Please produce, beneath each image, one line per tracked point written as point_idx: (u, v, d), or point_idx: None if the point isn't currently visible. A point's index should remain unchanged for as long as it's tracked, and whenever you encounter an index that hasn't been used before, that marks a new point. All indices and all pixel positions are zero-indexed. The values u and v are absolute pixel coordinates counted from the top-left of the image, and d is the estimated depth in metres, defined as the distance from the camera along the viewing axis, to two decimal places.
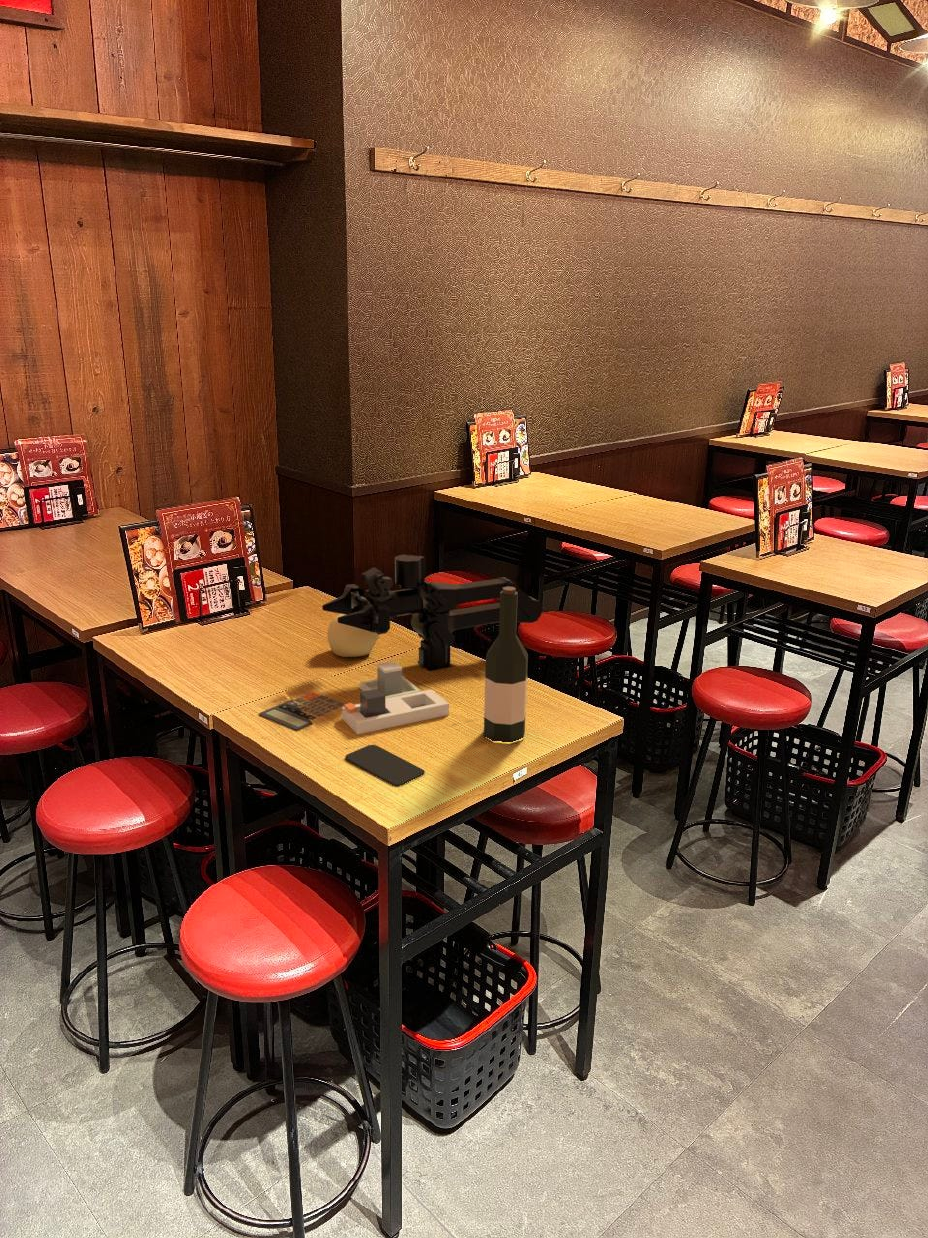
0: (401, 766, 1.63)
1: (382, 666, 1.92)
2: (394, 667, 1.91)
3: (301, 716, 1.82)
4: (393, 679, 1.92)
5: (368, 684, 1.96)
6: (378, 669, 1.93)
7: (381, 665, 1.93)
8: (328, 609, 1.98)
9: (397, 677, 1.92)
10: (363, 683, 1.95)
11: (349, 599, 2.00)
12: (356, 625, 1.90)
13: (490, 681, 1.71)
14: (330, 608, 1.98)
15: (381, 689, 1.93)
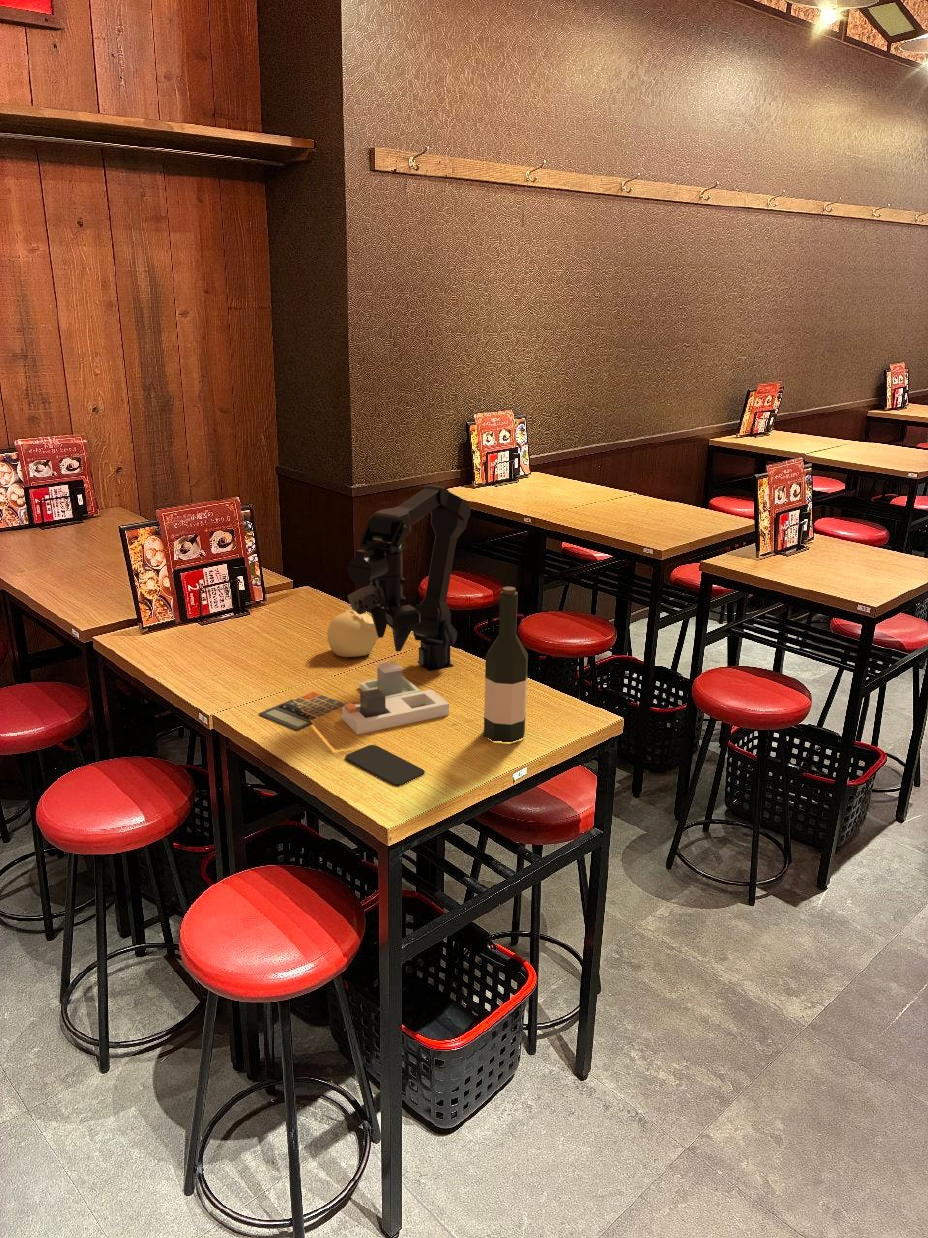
0: (401, 765, 1.63)
1: (382, 666, 1.92)
2: (394, 667, 1.91)
3: (301, 716, 1.82)
4: (393, 679, 1.92)
5: (368, 684, 1.96)
6: (378, 669, 1.93)
7: (381, 665, 1.93)
8: (383, 631, 1.94)
9: (397, 677, 1.92)
10: (363, 683, 1.95)
11: (375, 608, 1.93)
12: (406, 635, 1.85)
13: (490, 681, 1.71)
14: (382, 629, 1.94)
15: (381, 689, 1.93)
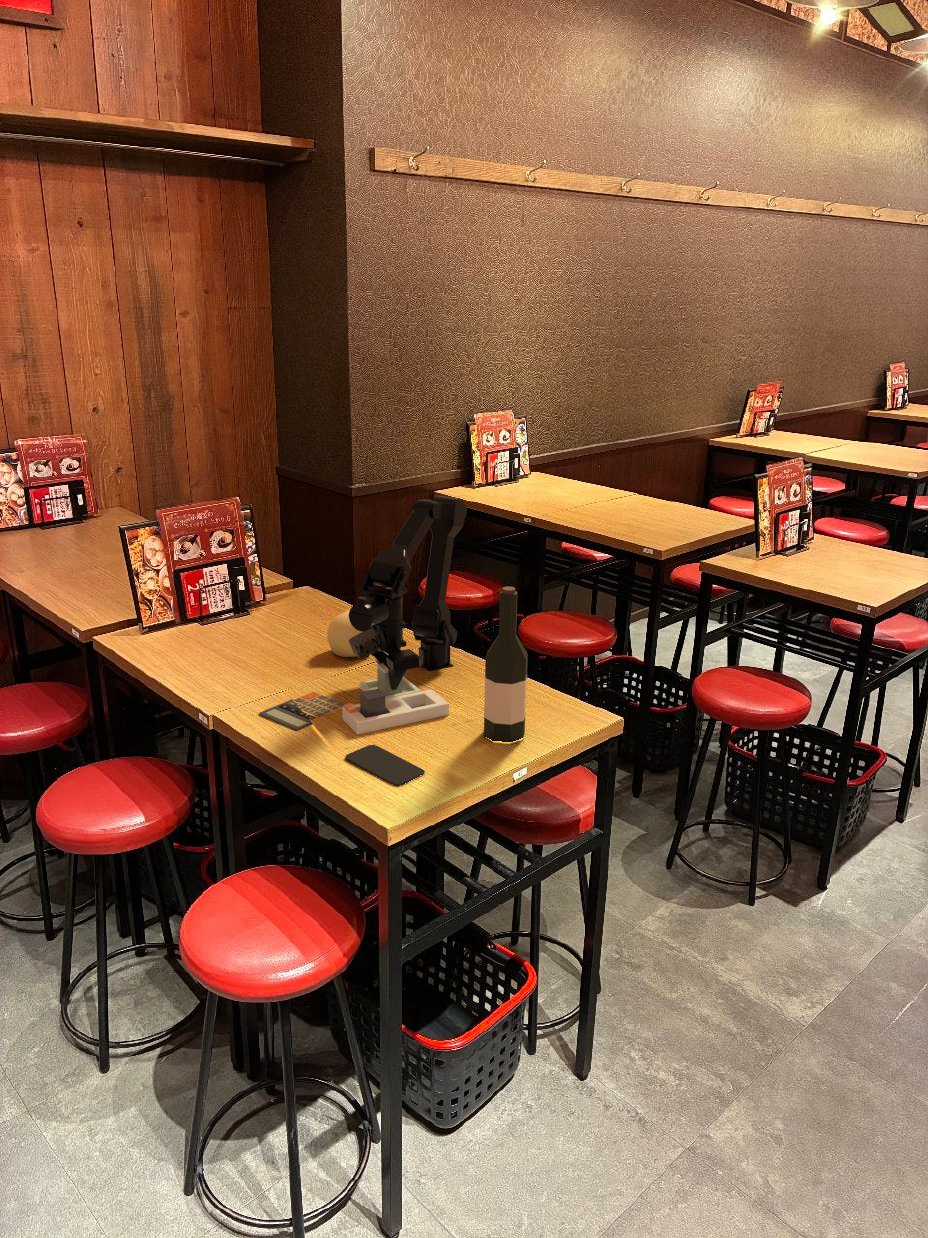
0: (401, 766, 1.63)
1: (382, 666, 1.92)
2: None
3: (301, 716, 1.82)
4: None
5: (368, 684, 1.96)
6: (378, 669, 1.93)
7: (381, 665, 1.93)
8: None
9: None
10: (363, 683, 1.95)
11: (380, 654, 1.94)
12: (402, 674, 1.91)
13: (490, 681, 1.71)
14: None
15: (381, 689, 1.93)
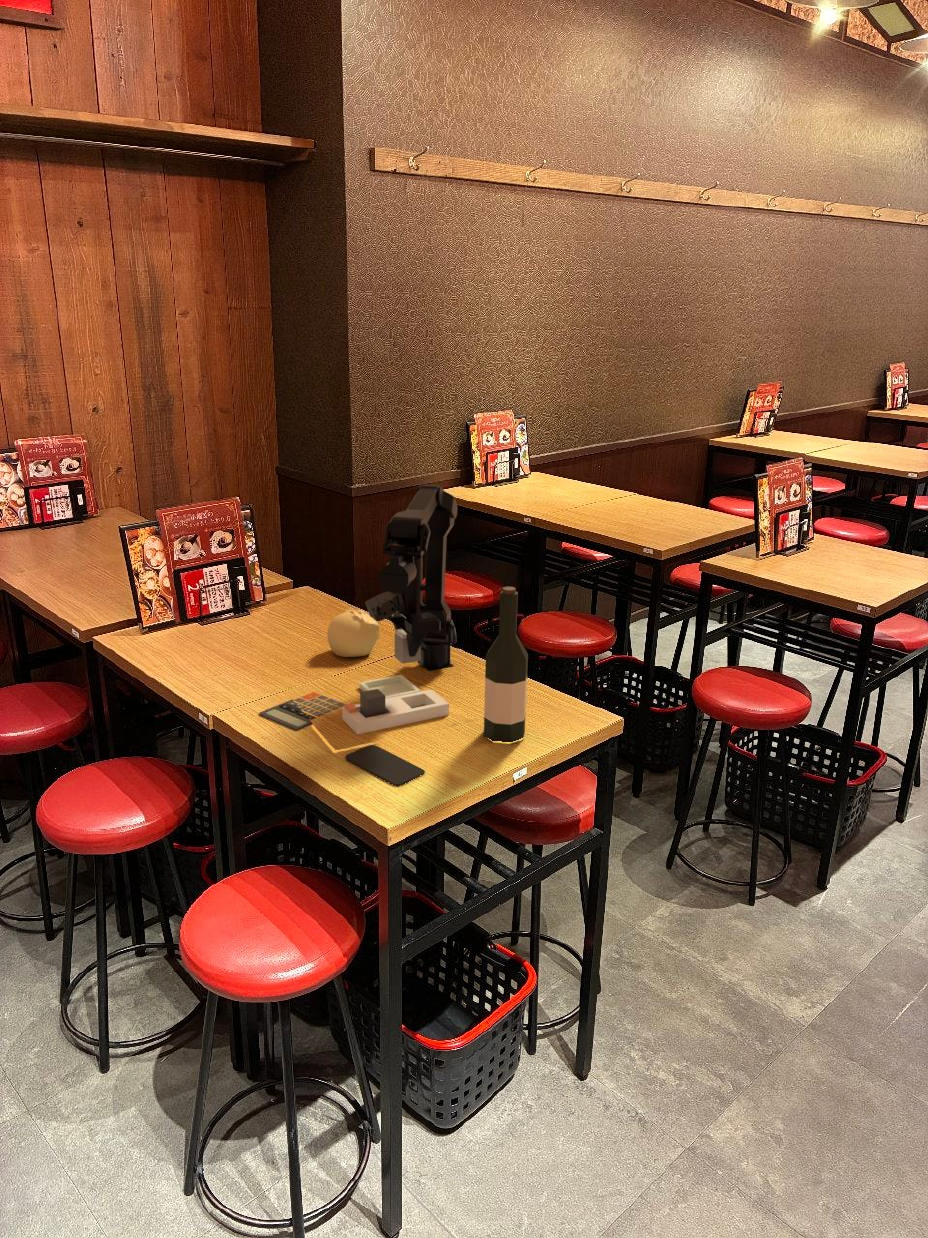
0: (401, 765, 1.63)
1: (400, 631, 1.82)
2: None
3: (300, 716, 1.82)
4: None
5: (368, 684, 1.96)
6: (395, 635, 1.83)
7: (399, 630, 1.82)
8: None
9: None
10: (363, 683, 1.95)
11: (398, 619, 1.83)
12: (421, 640, 1.80)
13: (490, 681, 1.71)
14: None
15: (398, 656, 1.83)
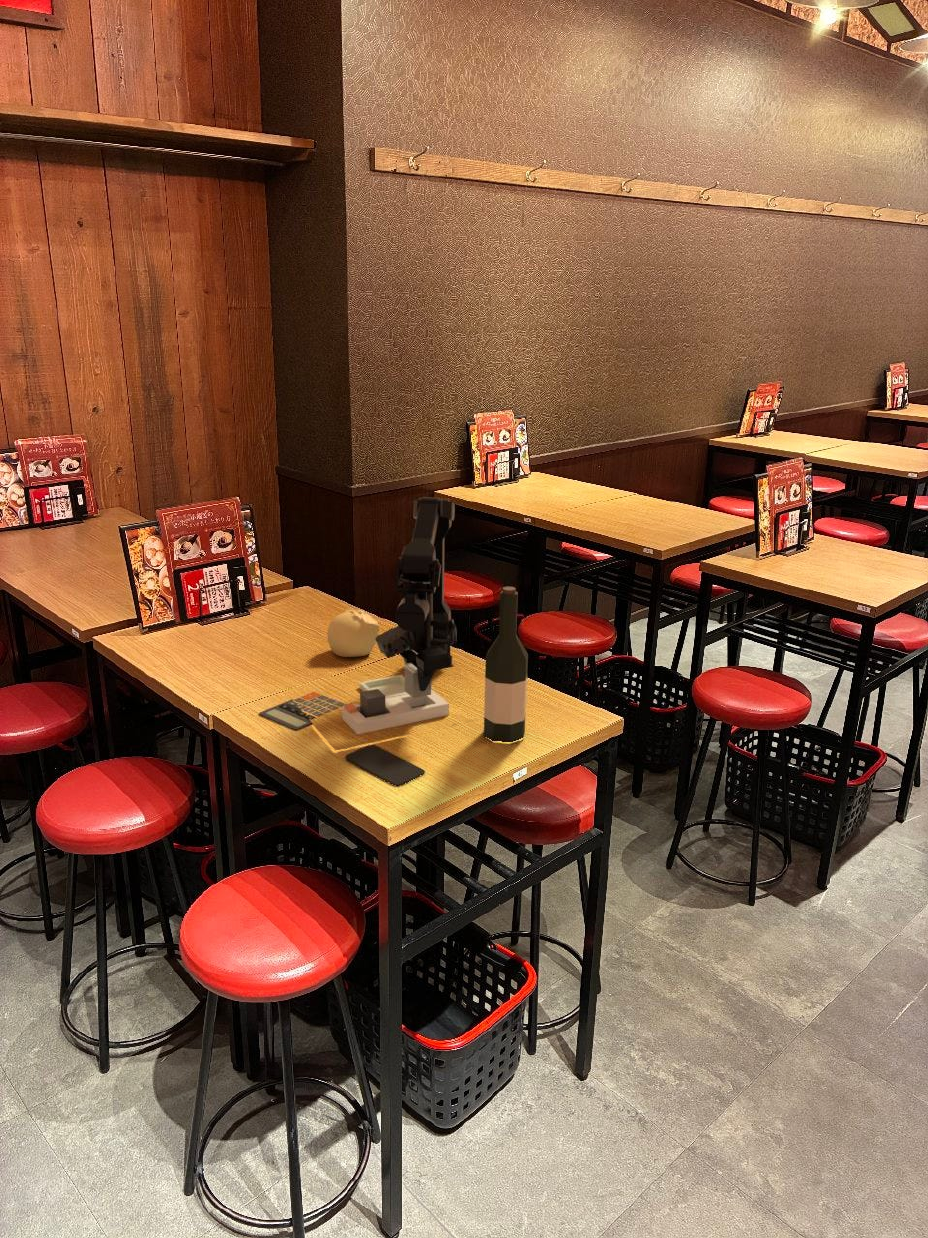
0: (401, 765, 1.63)
1: (410, 666, 1.81)
2: None
3: (300, 716, 1.82)
4: None
5: (368, 684, 1.96)
6: (405, 669, 1.82)
7: (409, 665, 1.82)
8: None
9: None
10: (363, 683, 1.95)
11: (408, 653, 1.83)
12: (431, 675, 1.80)
13: (490, 681, 1.71)
14: None
15: (409, 690, 1.82)
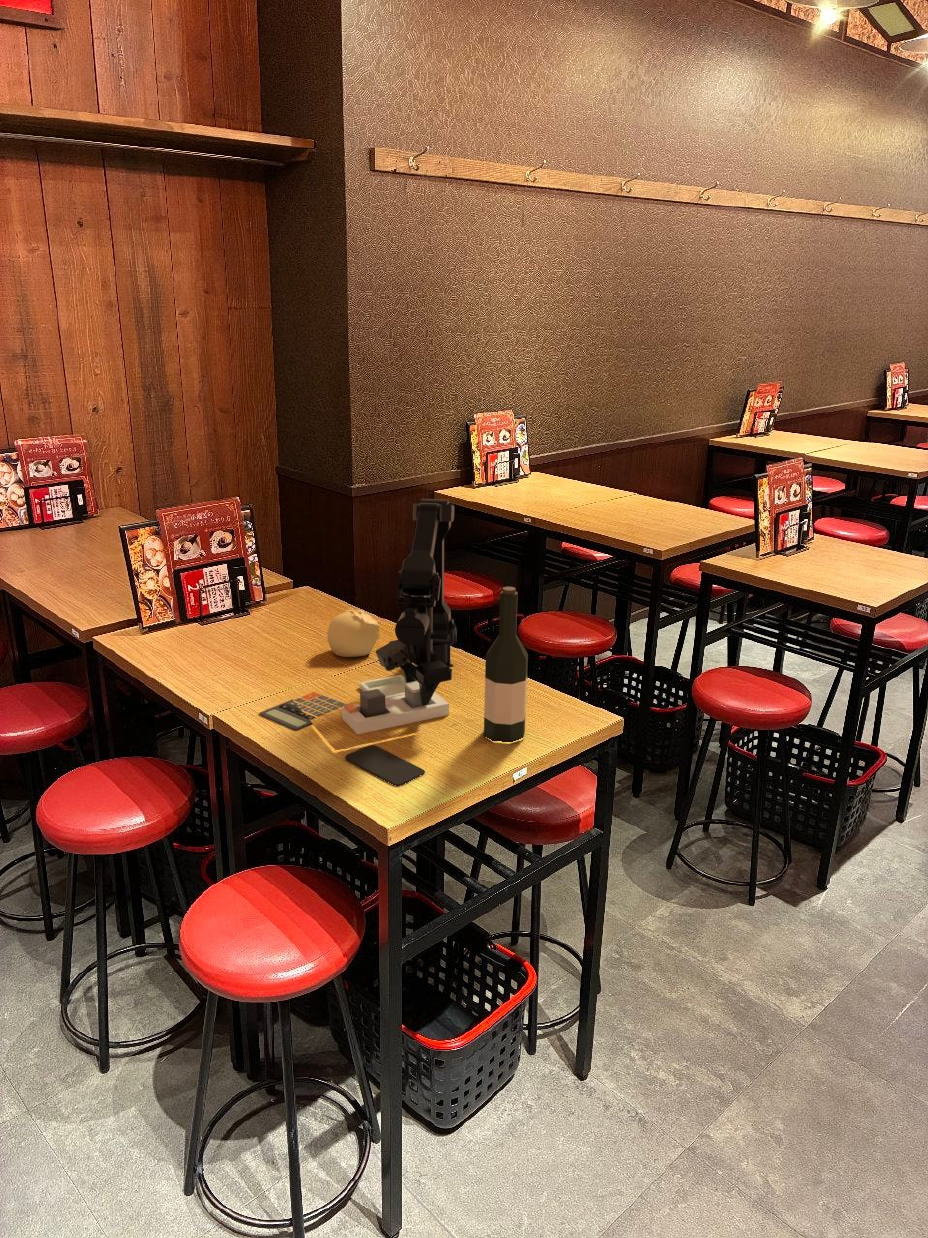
0: (401, 765, 1.63)
1: (410, 685, 1.83)
2: None
3: (300, 716, 1.82)
4: None
5: (368, 684, 1.96)
6: (406, 688, 1.84)
7: (409, 684, 1.83)
8: None
9: None
10: (363, 683, 1.95)
11: (406, 664, 1.84)
12: (433, 689, 1.80)
13: (490, 681, 1.71)
14: None
15: None
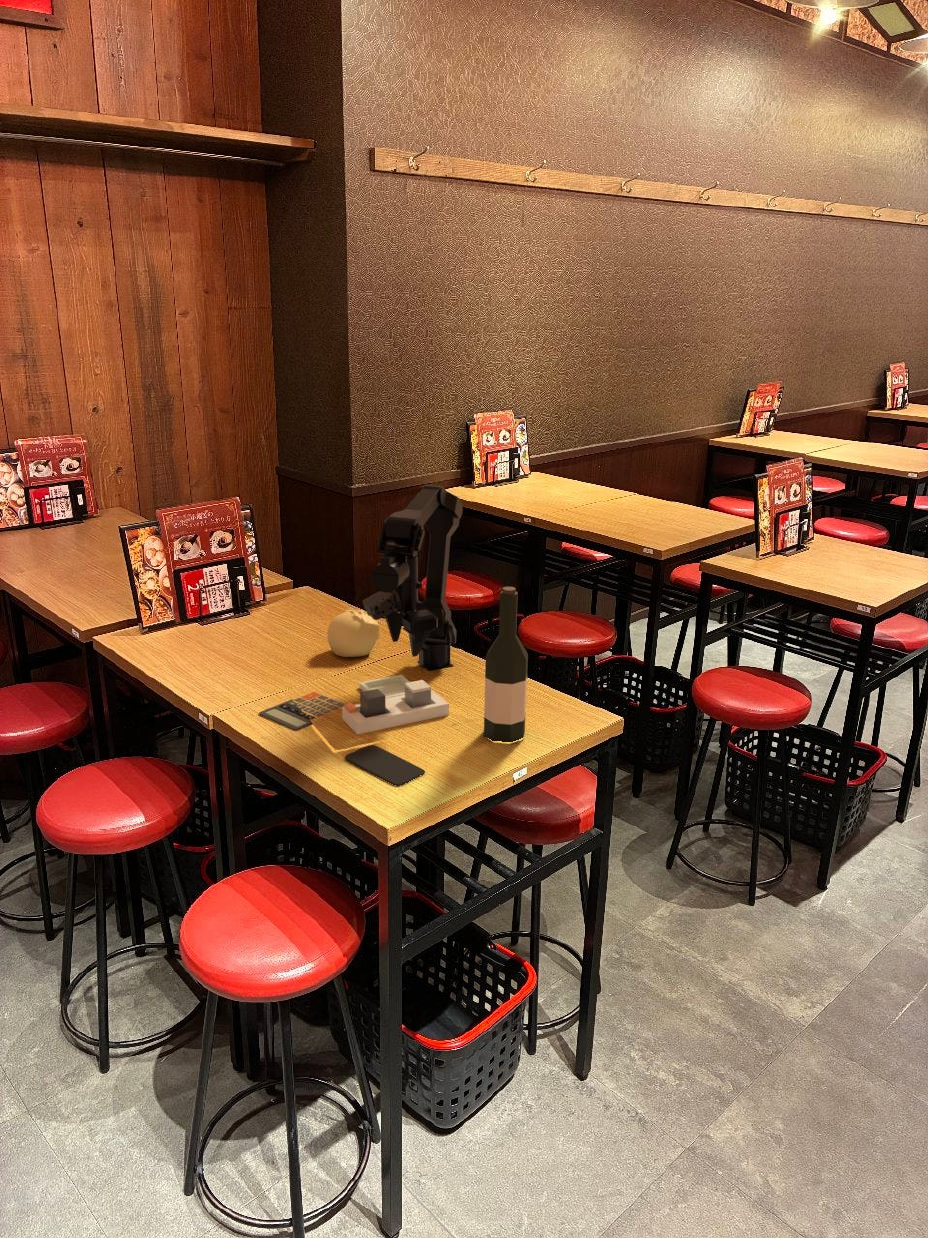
0: (401, 765, 1.63)
1: (410, 685, 1.83)
2: (423, 687, 1.82)
3: (300, 716, 1.82)
4: (421, 699, 1.82)
5: (368, 684, 1.96)
6: (406, 688, 1.84)
7: (409, 684, 1.83)
8: (397, 635, 1.92)
9: (425, 696, 1.82)
10: (363, 683, 1.95)
11: (390, 612, 1.90)
12: (423, 640, 1.83)
13: (490, 681, 1.71)
14: (396, 633, 1.91)
15: None
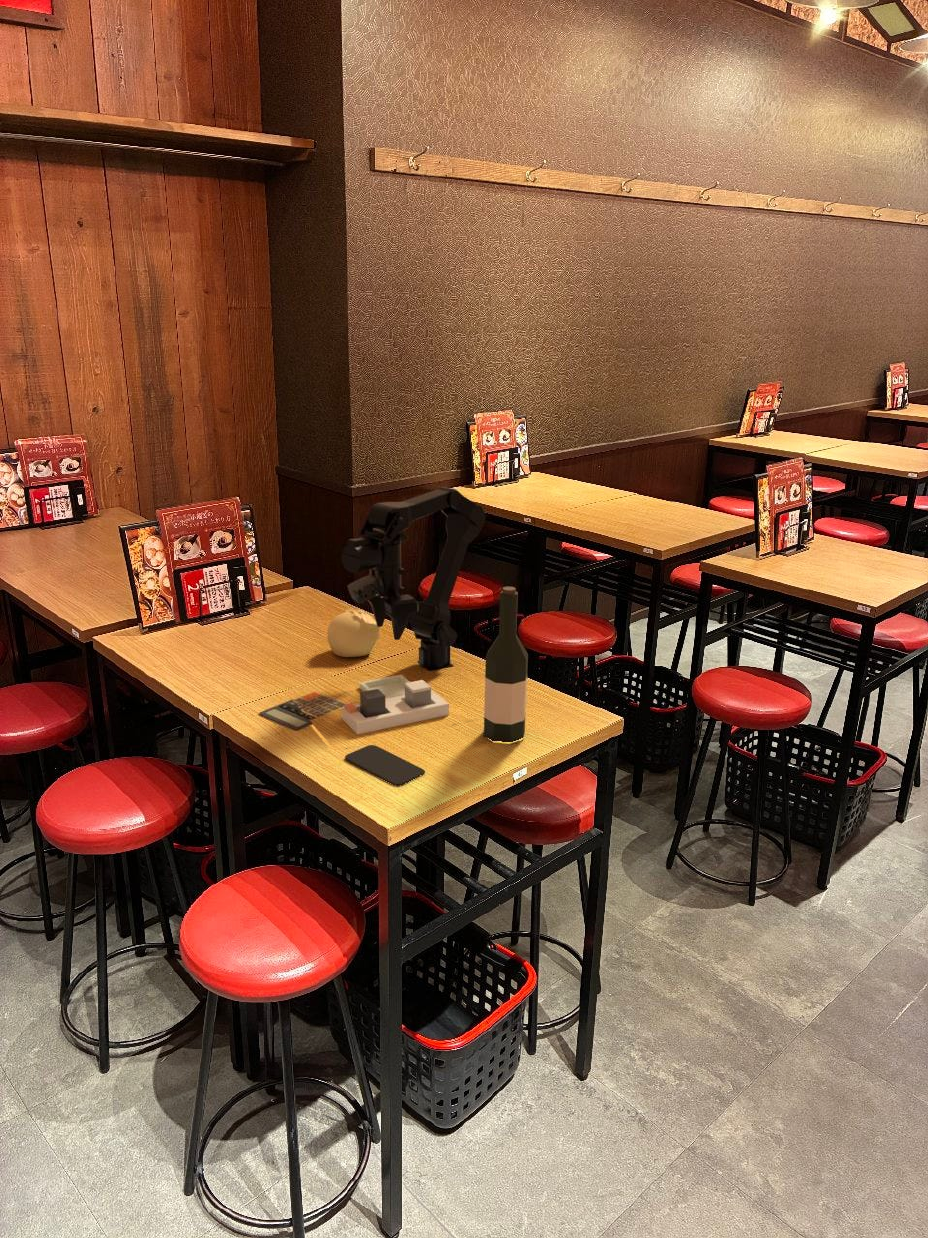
0: (401, 765, 1.63)
1: (410, 685, 1.83)
2: (423, 687, 1.82)
3: (300, 716, 1.82)
4: (421, 699, 1.82)
5: (368, 684, 1.96)
6: (406, 688, 1.84)
7: (409, 684, 1.83)
8: (382, 621, 1.99)
9: (425, 696, 1.82)
10: (363, 683, 1.95)
11: (375, 598, 1.97)
12: (405, 624, 1.90)
13: (490, 681, 1.71)
14: (381, 619, 1.99)
15: None
